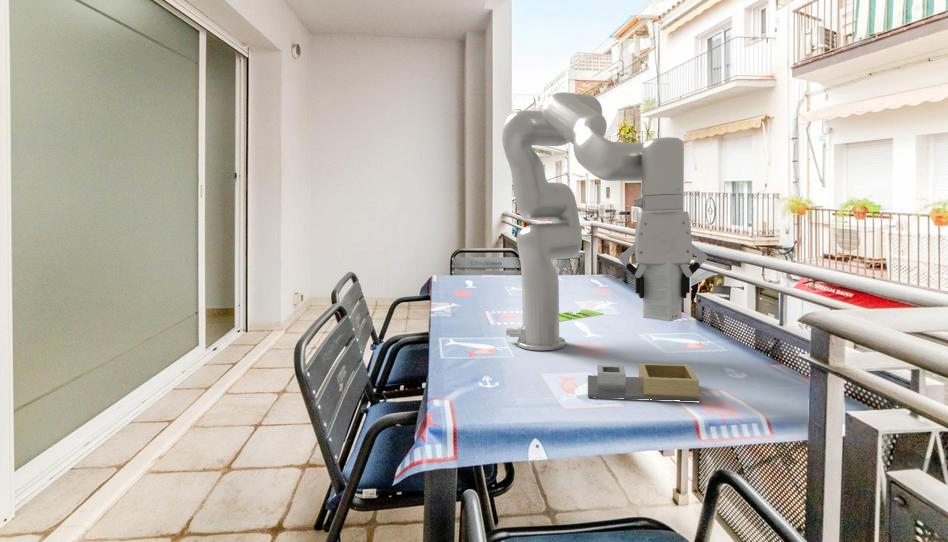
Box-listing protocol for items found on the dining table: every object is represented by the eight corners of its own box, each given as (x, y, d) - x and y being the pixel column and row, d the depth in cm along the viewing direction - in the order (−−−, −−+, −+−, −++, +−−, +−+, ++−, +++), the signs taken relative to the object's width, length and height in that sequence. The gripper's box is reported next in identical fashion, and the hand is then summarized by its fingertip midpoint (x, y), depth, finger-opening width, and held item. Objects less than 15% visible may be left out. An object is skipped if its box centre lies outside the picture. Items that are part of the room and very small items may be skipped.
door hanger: (585, 310, 181) (525, 320, 169) (585, 309, 181) (525, 318, 169) (604, 315, 173) (543, 325, 161) (604, 313, 173) (543, 324, 161)
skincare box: (682, 318, 101) (682, 256, 100) (670, 322, 99) (670, 258, 97) (654, 314, 106) (654, 255, 105) (641, 318, 104) (641, 257, 102)
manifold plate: (587, 398, 100) (587, 377, 99) (587, 379, 111) (587, 360, 110) (700, 403, 96) (700, 382, 95) (688, 382, 106) (689, 363, 106)
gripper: (616, 206, 98) (616, 300, 100) (716, 202, 95) (714, 300, 97) (613, 206, 105) (614, 294, 107) (706, 203, 102) (705, 293, 104)
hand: (662, 296), depth 102 cm, fingers closed on skincare box, 7 cm apart
